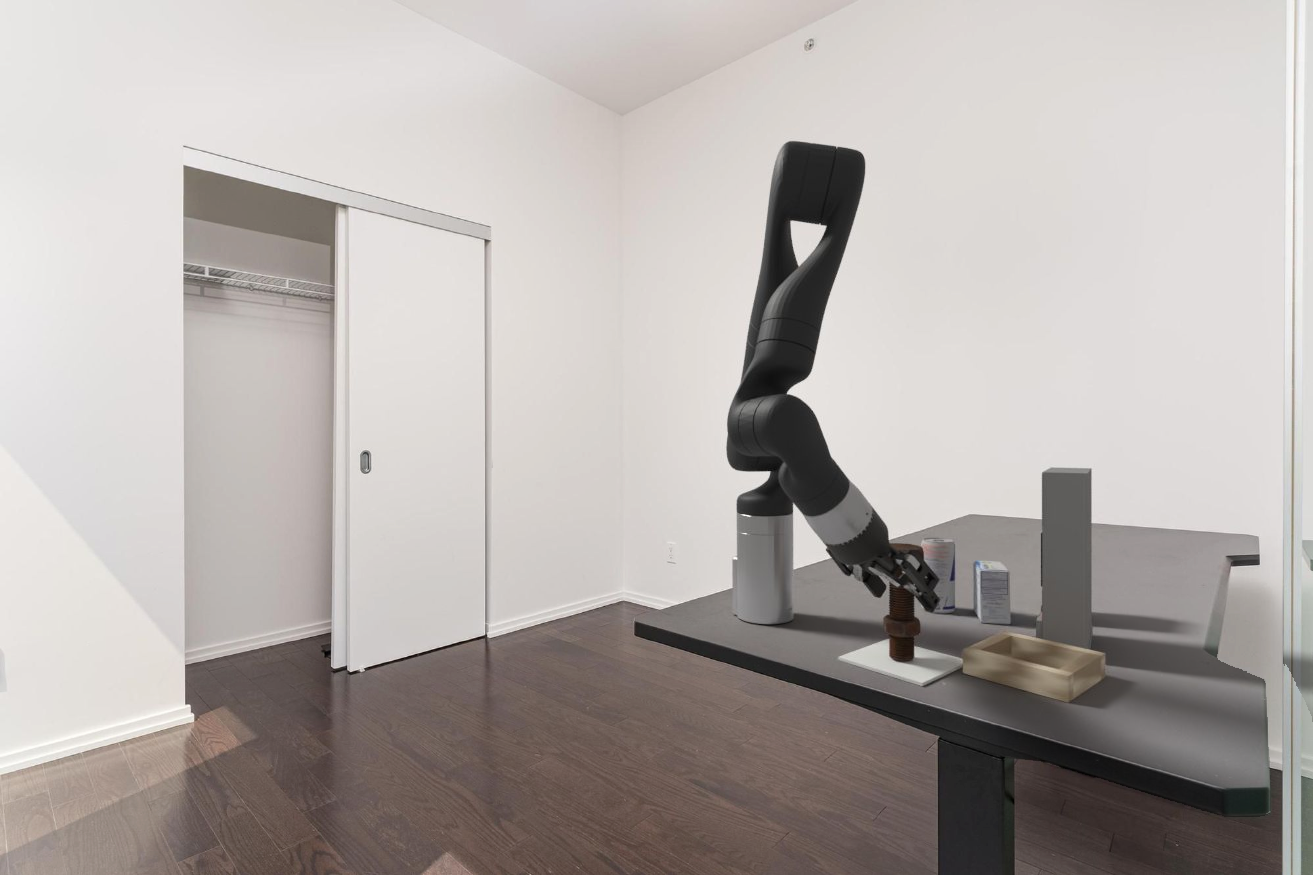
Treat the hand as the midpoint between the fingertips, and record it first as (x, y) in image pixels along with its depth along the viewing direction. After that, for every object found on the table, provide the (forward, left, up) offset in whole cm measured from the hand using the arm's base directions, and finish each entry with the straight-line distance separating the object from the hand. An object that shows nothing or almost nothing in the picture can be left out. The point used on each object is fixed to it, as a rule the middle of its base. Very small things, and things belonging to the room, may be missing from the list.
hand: (906, 599), depth 88 cm
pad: (0, -1, -8) cm, 8 cm away
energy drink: (-10, +27, -8) cm, 30 cm away
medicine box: (-2, +29, -9) cm, 31 cm away
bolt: (0, -1, -8) cm, 8 cm away
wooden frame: (+13, +7, -8) cm, 17 cm away
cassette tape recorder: (+11, +23, -8) cm, 27 cm away
